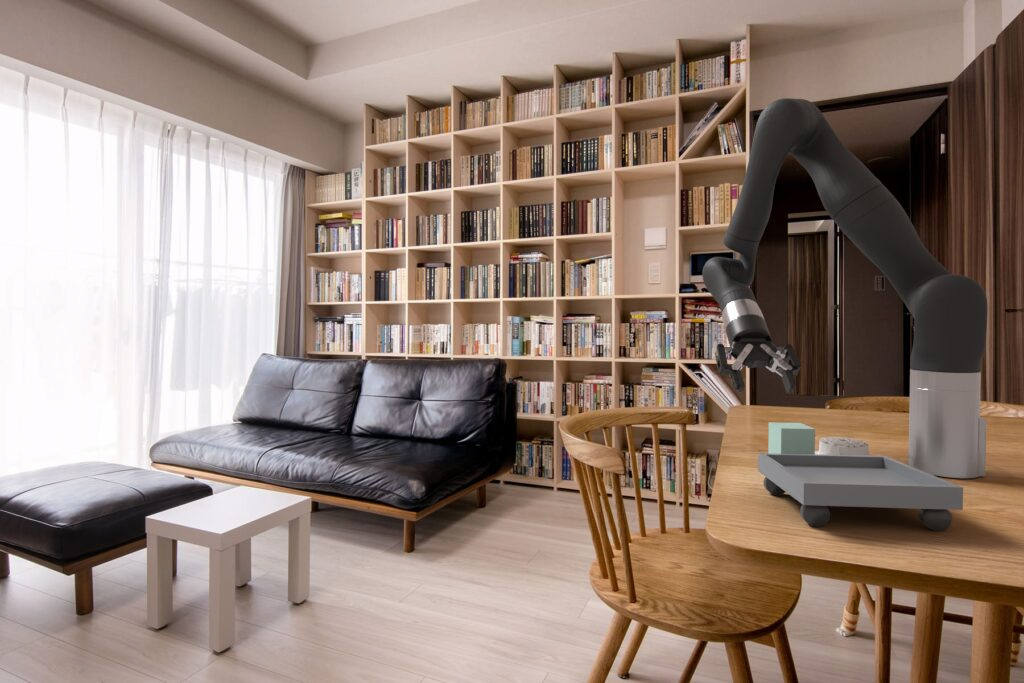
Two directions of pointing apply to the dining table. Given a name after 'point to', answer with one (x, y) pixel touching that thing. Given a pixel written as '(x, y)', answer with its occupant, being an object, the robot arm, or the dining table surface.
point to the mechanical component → (842, 446)
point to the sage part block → (791, 438)
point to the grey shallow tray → (859, 486)
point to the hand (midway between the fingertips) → (766, 390)
